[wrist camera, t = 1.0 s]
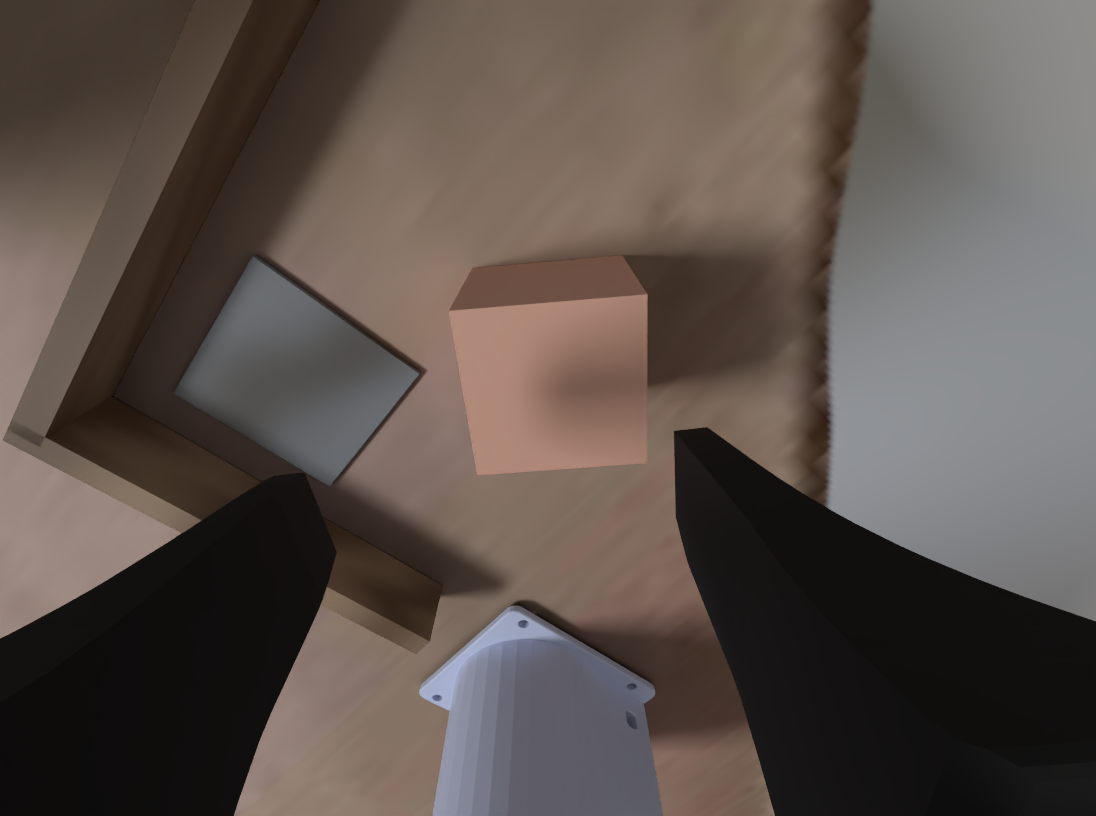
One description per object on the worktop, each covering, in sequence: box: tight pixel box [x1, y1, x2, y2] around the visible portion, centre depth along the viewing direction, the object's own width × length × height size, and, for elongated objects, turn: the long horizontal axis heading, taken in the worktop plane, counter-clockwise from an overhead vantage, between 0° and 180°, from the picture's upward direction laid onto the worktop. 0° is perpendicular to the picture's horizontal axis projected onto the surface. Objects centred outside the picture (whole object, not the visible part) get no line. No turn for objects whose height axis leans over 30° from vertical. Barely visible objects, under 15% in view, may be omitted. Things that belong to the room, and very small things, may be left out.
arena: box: [3, 0, 442, 654], centre depth 18 cm, size 16×18×3 cm
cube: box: [449, 255, 648, 475], centre depth 17 cm, size 5×5×5 cm
